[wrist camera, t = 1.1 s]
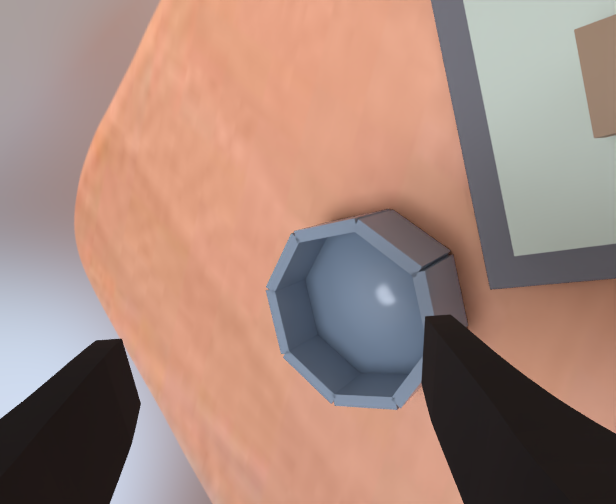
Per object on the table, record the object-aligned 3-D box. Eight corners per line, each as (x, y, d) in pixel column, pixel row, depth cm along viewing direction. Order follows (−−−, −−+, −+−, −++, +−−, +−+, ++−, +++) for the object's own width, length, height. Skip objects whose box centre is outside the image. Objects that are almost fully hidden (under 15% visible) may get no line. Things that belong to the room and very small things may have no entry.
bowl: (441, 197, 23) (410, 206, 20) (479, 380, 23) (455, 413, 21) (293, 229, 28) (253, 239, 25) (328, 377, 29) (292, 403, 26)
